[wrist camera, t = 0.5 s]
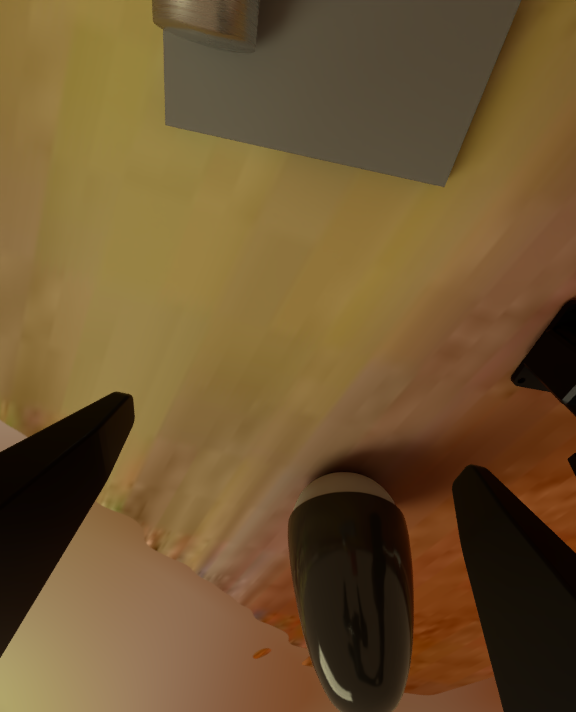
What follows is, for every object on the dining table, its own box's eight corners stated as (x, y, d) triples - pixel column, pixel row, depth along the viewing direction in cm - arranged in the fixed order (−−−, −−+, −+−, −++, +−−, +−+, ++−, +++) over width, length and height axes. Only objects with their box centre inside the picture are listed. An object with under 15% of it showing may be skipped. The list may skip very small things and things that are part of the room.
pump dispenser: (297, 520, 35) (294, 735, 22) (281, 459, 29) (264, 701, 17) (394, 516, 34) (447, 741, 21) (396, 450, 28) (472, 706, 15)
